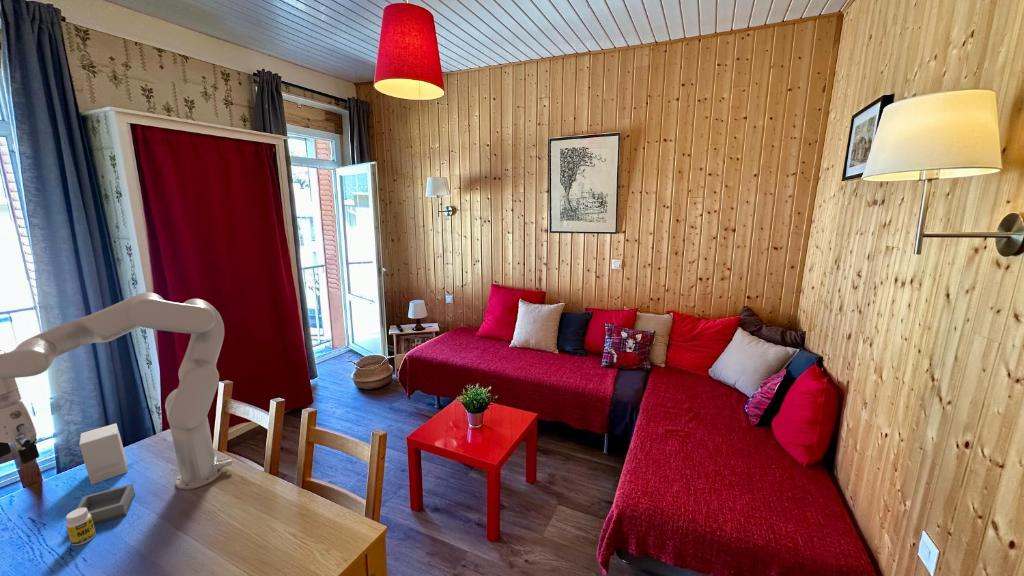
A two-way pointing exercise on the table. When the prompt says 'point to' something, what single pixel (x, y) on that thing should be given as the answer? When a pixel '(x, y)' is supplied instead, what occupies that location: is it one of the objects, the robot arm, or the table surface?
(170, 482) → the table surface
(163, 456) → the table surface
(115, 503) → the bin
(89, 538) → the supplement bottle
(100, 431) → the supplement box
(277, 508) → the table surface
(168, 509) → the table surface
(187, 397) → the robot arm
